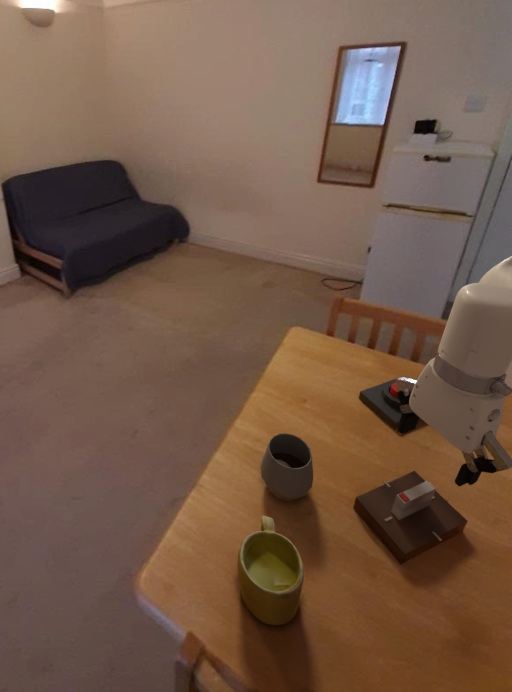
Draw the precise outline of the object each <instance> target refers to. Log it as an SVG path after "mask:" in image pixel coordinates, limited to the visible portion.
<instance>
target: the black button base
mask: <svg viewBox="0 0 512 692" xmlns="http://www.w3.org/2000/svg"><path fill="white" fill-rule="evenodd" d="M397 378H398V377H397ZM397 378H394V379H391V380H388V381H385V382H382V383H380V384H377V385H374V386H372V387H371V386H370V387H368V388H365V389H363V390H360V391H359V394H358V399H359V400H360V401H361V402H362V403H363V404H365V405H366V406H367V407H368V408H369V409H370V410H371V411H372V412H374V413H375V414H376V415H377V416H378V417H379V418H380V419H381V420H382V421H383V422H385V423H386V424H387V426H390V428H391V429H392V430H394V431H395V430H398V429H399V426H400V419H401V416H402V411H401V410H400V406H402V405H401V403H400V401H399V399H398V398H395V397H393V396H392V395H391V393H390V389H391V386H392V384H393V383H396V381H395V380H396V379H397ZM409 390H410V393H412V389H409ZM419 420H422V419H421V418H419Z"/></svg>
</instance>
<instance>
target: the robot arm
mask: <svg viewBox="0 0 512 692" xmlns="http://www.w3.org/2000/svg"><path fill="white" fill-rule="evenodd" d="M511 363H512V255H511V256H509V257H507V258H505V259H504V260H501V261H500V262H499V263H497V264H496V265H494V266H493V267H492V268H490V269H489V270H488V271H486V273H485V274H484V275H483V276H481V278H480V280H479V281H478V282H473V283H468V284H466V285H464V286H463V287H461V288H460V289H459V290H458V291H457V294H456V295H455V299H454V301H453V304H452V307H451V309H450V313H449V316H448V319H447V321H446V324H445V327H444V330H443V333H442V336H441V339H440V341H439V344H438V348H437V351H436V353H435V357H434V358H431V359H430V360H429V361H428V363H427V364H426V365H425V366H424V368H423V369H422V370H421V372H420V374H419V376H418V377H417V378H416V379H417V380H416V379H412V378H409V377H407V376H406V377H405V376H400V377H397V379H396V378H395V379H396V380H395V381H396V386H397V390H398V392H397V396H398V398H399V401H400V403H401V405H402V406H400V410H401V411H402V416H401V419H400V426H399V428H397V431H398V433H399V434H401V435H404V434H407V433H409V432H413V431H415V430H416V429H417V427H418V423H419V421H420V420H422V421H423V422H424V423H425V424H427V425H428V426H429V427H430V428H432V429H433V430H434V431H435V432H436V433H438V434H439V435H440V436H441V437H442V438H443V439H445V440H446V441H447V442H448V443H450V444H451V445H452V446H454V447H455V448H456V449H458V450H459V451H461V454H462V456H463V458H464V461H465V463H463V464H461V466H460V468H459V470H458V472H457V475H456V477H455V478H454V484H455V485H456V486H457V487H462V486H464V485H466V484H468V485H469V486H472V485H474V484H476V483H477V482H478V481H479V478H480V476H481V474H482V473H486V474H495V473H498V472H502V471H506V470H507V471H508V470H509V469H512V457H511V456H510V455H509V453H508V452H507V451H506V449H505V448H504V447H503V445H502V444H501V443H500V442H499V440H498V439H497V437H496V436H497V435H498V431H499V429H500V425H501V421H502V419H503V418H502V417H503V414H504V408H505V399H506V398H507V397H509V396H510V395H511V394H512V387H510V386H509V385H508V384H507V383H506V381H505V380H506V378H507V376H508V375H507V374H506V373H507V371H508V369H509V367H510V365H511ZM409 389H412V393H410V391H409ZM419 418H421V419H419ZM485 448H486V449H487V451H488V453H490V455H491V456H492V458H493V459H490V458H489V456H488V454H487V451H486V449H485ZM474 453H475V454H474ZM475 455H476V457H475Z"/></svg>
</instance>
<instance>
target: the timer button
mask: <svg viewBox="0 0 512 692" xmlns="http://www.w3.org/2000/svg"><path fill="white" fill-rule="evenodd" d="M409 391H410V390H409ZM397 392H398V390H397V386H396V383H393V384H392V386H391V389H390V393H391V395H392V396H393V397H395V398H398V396H397ZM398 399H399V398H398Z"/></svg>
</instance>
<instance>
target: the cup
mask: <svg viewBox="0 0 512 692" xmlns="http://www.w3.org/2000/svg"><path fill="white" fill-rule="evenodd" d="M260 474H261V478H262V480H263V482H264V484H265V486H266V487H267V488H268V490H269V491H270V493H271V494H273V496H274V497H276V498H278V499H279V500H281V501H285V502H293V501H296V500H299V499H301V498H303V497H304V496H306V495H307V494H308V493H309V492H310V490H311V489H312V487H313V483H314V466H313V455H312V450H311V447H309V445H308V443H307V442H306V441H304V440H303V438H301V437H299V436H297V435H295V434H292V433H287V432H286V433H285V432H283V433H277V434H275V435H273V436H272V437H271V439H269V441H268V443H267V446H266V448H265V451H264V454H263V456H262V460H261V464H260Z"/></svg>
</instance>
